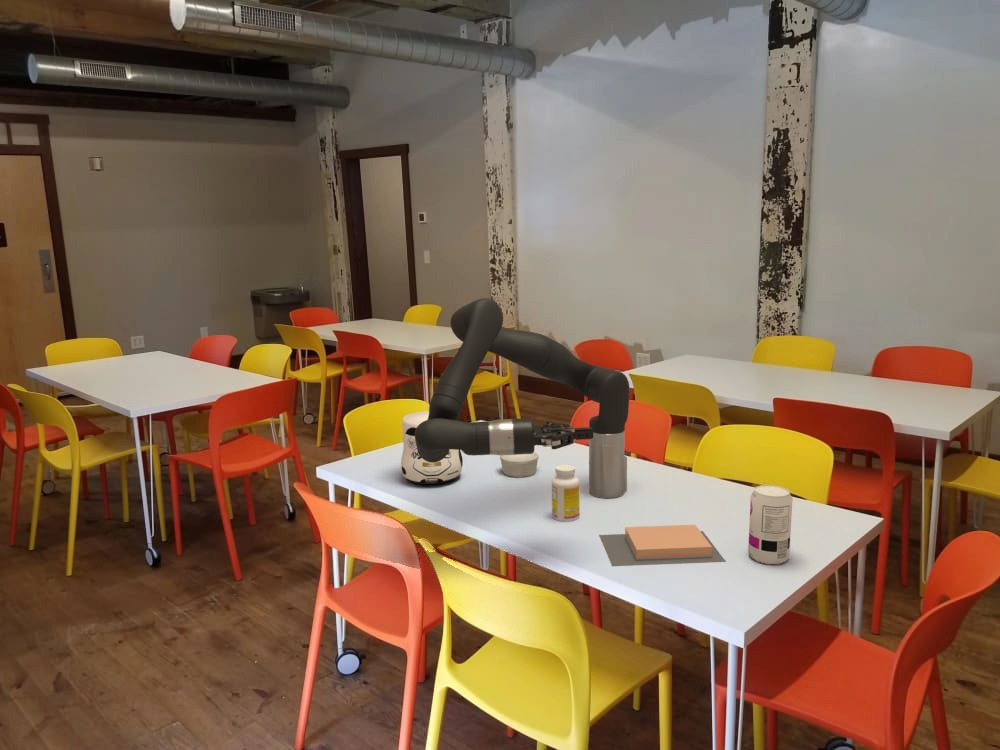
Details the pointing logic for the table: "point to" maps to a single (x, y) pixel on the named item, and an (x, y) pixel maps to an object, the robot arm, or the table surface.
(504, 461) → the ramekin
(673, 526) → the tile
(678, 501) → the table surface
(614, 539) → the mat
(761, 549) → the supplement can
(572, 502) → the supplement bottle
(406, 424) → the milk container
